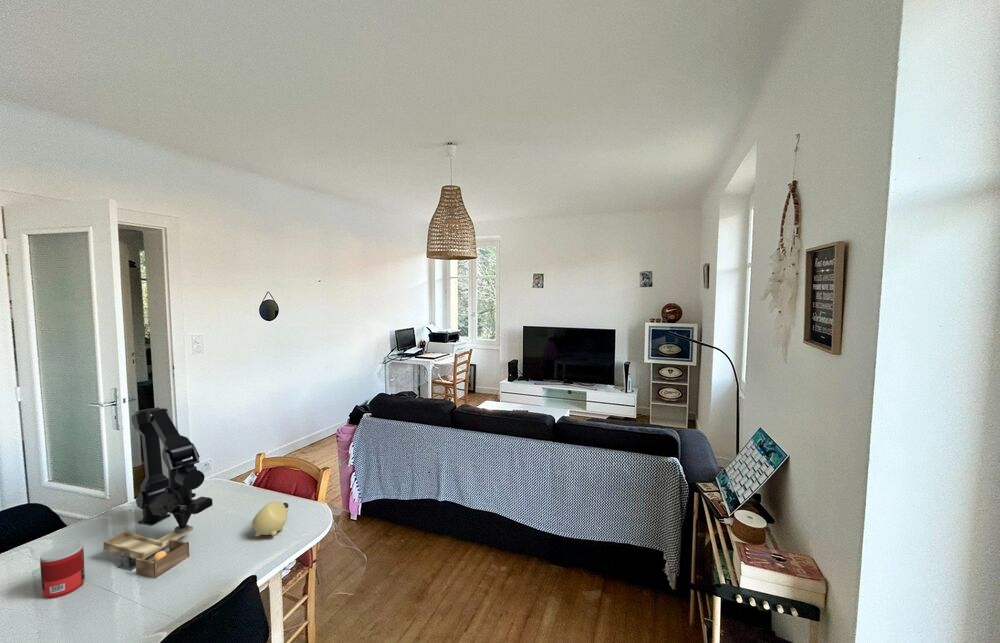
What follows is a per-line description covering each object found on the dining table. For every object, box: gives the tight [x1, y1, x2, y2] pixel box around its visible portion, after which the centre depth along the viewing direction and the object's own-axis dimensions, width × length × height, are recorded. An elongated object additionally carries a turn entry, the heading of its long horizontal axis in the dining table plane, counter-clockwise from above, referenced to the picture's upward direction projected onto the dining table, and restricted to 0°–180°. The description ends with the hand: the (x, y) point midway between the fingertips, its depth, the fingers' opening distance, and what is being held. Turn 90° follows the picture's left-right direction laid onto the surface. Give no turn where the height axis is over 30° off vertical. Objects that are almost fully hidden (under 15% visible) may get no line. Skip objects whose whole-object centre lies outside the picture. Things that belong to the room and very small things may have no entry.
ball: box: [152, 550, 167, 562], centre depth 121 cm, size 3×3×3 cm
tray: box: [135, 539, 190, 579], centre depth 121 cm, size 7×10×4 cm
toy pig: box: [251, 501, 289, 537], centre depth 138 cm, size 10×12×11 cm
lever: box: [103, 524, 194, 559], centre depth 128 cm, size 15×16×2 cm
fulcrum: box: [117, 537, 161, 572], centre depth 123 cm, size 5×8×4 cm, turn 168°
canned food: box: [39, 541, 86, 600], centre depth 110 cm, size 8×8×11 cm
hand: (182, 528), depth 132 cm, fingers closed, pressing on lever
